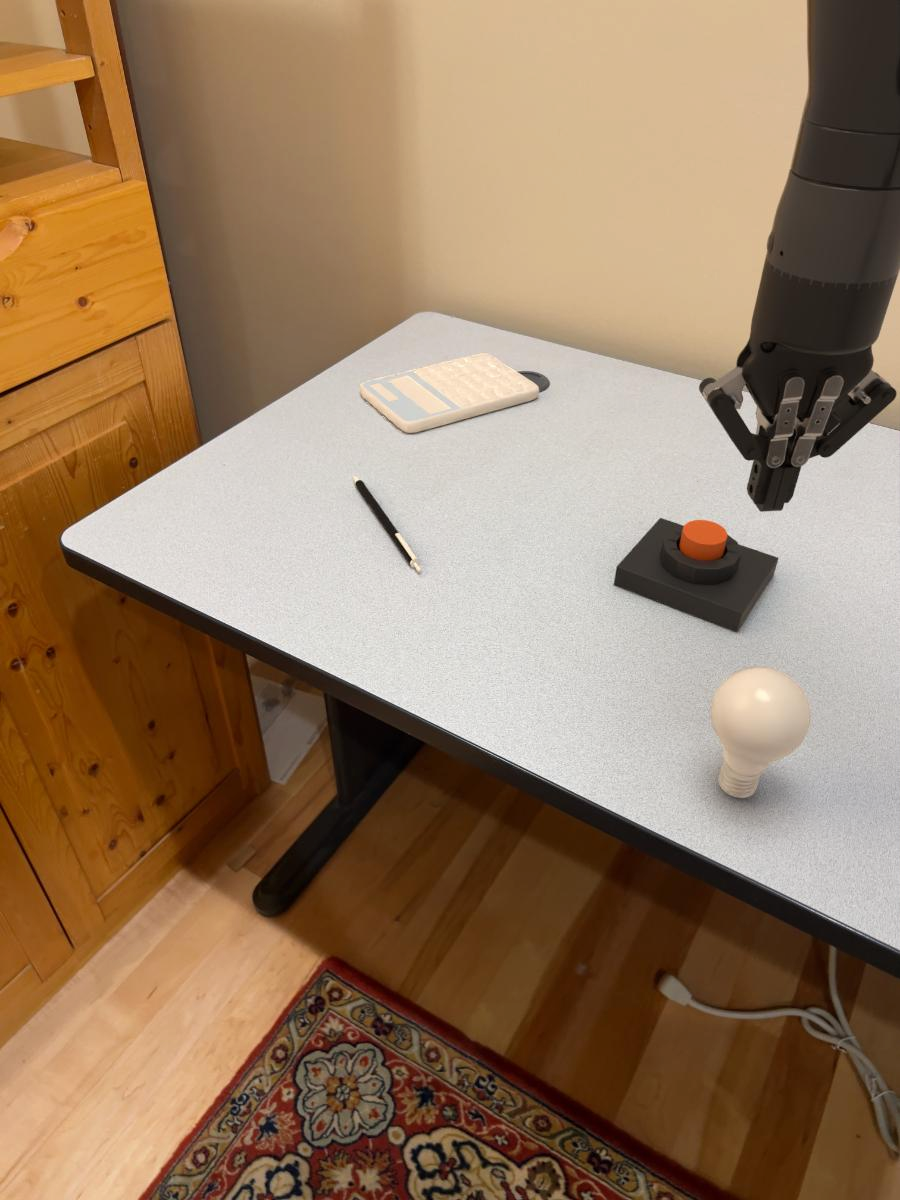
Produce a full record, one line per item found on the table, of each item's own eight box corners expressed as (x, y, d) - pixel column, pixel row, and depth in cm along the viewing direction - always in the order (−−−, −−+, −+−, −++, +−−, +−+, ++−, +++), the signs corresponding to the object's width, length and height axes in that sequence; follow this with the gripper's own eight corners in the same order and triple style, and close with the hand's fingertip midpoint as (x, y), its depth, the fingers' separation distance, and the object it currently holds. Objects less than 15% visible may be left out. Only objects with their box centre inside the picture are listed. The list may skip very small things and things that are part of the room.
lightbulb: (791, 778, 65) (833, 670, 58) (765, 839, 61) (807, 730, 54) (708, 743, 68) (738, 635, 61) (677, 799, 63) (707, 690, 57)
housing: (773, 576, 84) (783, 541, 82) (736, 632, 78) (746, 597, 75) (656, 535, 89) (663, 502, 87) (613, 585, 83) (618, 550, 80)
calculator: (542, 399, 113) (543, 385, 112) (406, 437, 105) (405, 422, 104) (485, 361, 122) (486, 348, 121) (356, 394, 114) (355, 380, 113)
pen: (415, 576, 84) (415, 566, 83) (350, 480, 97) (349, 471, 97) (424, 573, 84) (424, 564, 83) (357, 478, 98) (357, 469, 97)
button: (729, 546, 82) (734, 528, 81) (713, 567, 79) (718, 549, 78) (688, 532, 84) (692, 514, 82) (672, 553, 81) (675, 534, 80)
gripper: (746, 281, 49) (691, 539, 60) (974, 275, 50) (879, 530, 60) (703, 240, 55) (661, 482, 65) (908, 235, 56) (833, 474, 66)
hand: (766, 505), depth 63 cm, fingers closed
